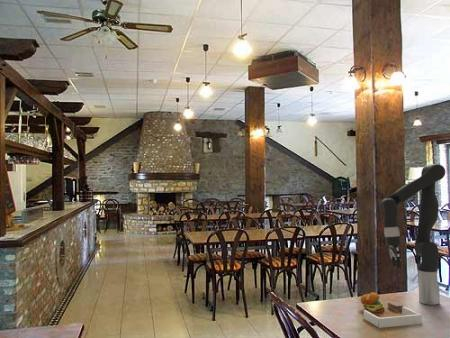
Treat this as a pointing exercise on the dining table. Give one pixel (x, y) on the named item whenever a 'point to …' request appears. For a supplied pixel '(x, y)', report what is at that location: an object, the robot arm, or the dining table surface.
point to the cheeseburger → (372, 302)
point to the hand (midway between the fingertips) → (396, 266)
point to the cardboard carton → (395, 306)
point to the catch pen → (395, 319)
